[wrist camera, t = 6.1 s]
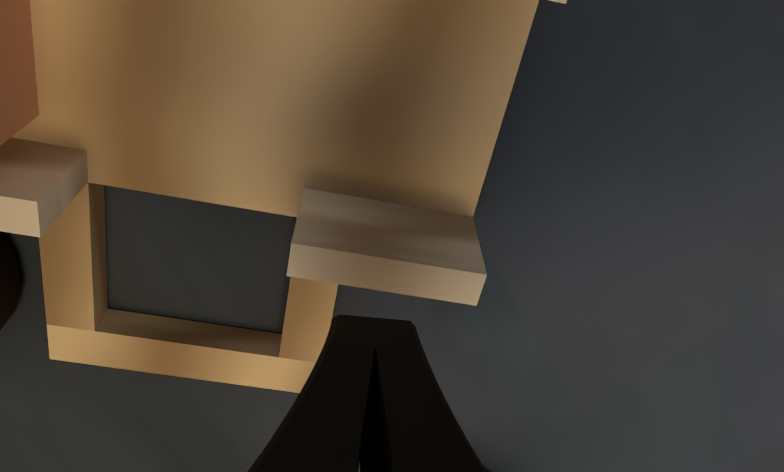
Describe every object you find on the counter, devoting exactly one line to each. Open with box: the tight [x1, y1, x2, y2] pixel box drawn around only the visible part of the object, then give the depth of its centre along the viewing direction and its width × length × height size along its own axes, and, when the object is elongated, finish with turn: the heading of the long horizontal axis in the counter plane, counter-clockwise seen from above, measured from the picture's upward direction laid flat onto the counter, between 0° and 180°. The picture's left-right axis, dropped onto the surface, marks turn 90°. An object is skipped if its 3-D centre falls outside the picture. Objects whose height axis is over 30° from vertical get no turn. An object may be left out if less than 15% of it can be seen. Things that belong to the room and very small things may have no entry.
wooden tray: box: [0, 0, 567, 393], centre depth 17 cm, size 18×16×4 cm
